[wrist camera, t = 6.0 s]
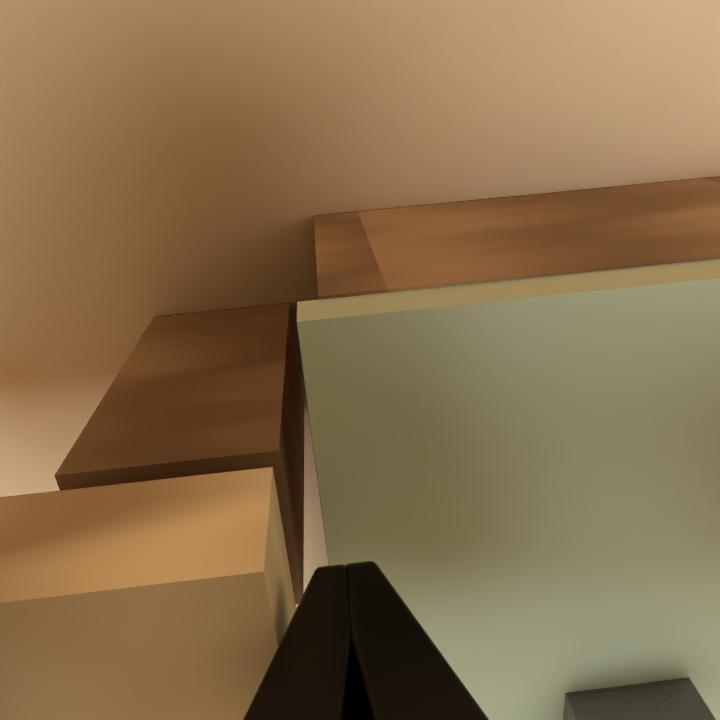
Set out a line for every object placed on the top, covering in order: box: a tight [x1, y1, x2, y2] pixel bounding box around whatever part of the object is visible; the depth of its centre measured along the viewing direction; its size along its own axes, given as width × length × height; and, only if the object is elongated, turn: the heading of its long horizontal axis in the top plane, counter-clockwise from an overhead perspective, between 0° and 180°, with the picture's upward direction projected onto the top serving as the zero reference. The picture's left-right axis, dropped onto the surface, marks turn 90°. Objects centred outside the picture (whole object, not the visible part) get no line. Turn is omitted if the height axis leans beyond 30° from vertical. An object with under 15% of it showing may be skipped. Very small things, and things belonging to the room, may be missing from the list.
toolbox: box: [55, 177, 720, 604], centre depth 16 cm, size 14×24×6 cm, turn 5°
